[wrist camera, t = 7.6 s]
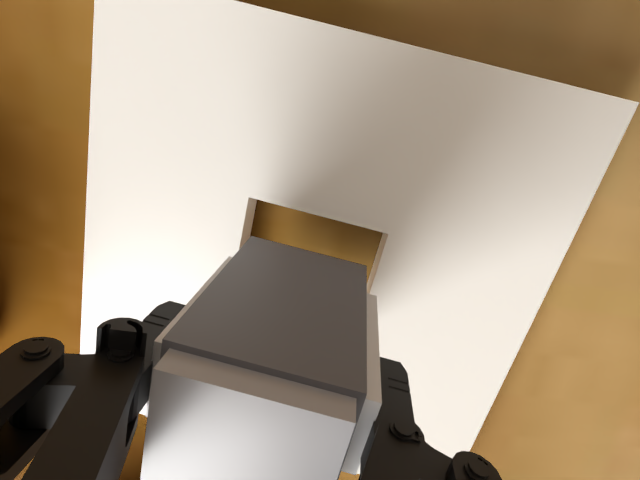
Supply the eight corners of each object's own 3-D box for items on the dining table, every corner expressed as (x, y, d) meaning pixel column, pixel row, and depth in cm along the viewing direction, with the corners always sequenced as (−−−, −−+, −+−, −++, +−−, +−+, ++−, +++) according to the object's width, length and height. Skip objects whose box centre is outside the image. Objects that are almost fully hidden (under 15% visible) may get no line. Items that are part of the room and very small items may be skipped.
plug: (251, 235, 17) (145, 358, 9) (366, 265, 17) (367, 419, 9) (232, 335, 19) (128, 516, 11) (337, 363, 19) (314, 568, 11)
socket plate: (123, -22, 18) (78, -44, 15) (610, 102, 18) (657, 102, 15) (99, 374, 26) (65, 409, 23) (440, 468, 25) (450, 516, 22)
